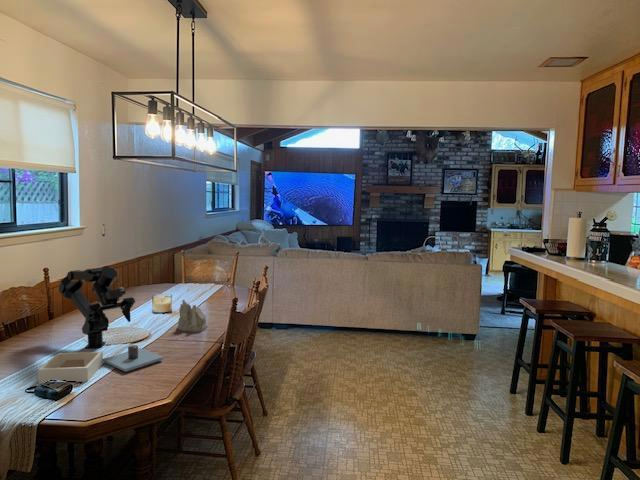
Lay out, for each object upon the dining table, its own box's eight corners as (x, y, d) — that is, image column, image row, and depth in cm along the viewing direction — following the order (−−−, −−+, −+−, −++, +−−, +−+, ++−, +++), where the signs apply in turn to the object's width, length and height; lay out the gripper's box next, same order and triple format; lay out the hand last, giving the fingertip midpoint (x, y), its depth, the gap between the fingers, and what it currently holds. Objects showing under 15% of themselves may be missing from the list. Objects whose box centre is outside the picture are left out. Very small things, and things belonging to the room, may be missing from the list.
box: (58, 365, 170) (58, 353, 169) (103, 364, 172) (102, 351, 172) (38, 383, 154) (38, 369, 153) (87, 381, 156) (87, 367, 156)
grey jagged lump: (198, 332, 212) (198, 301, 212) (170, 330, 218) (170, 299, 217) (217, 326, 227) (217, 296, 226) (190, 323, 232) (190, 295, 232)
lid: (102, 363, 173) (102, 347, 172) (140, 352, 186) (140, 337, 185) (125, 373, 164) (124, 357, 163) (163, 361, 176) (163, 345, 176)
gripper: (87, 284, 173) (103, 317, 168) (132, 278, 188) (147, 308, 183) (78, 301, 178) (93, 333, 173) (122, 293, 193) (137, 323, 188)
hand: (119, 323), depth 179 cm, fingers open, 9 cm apart
